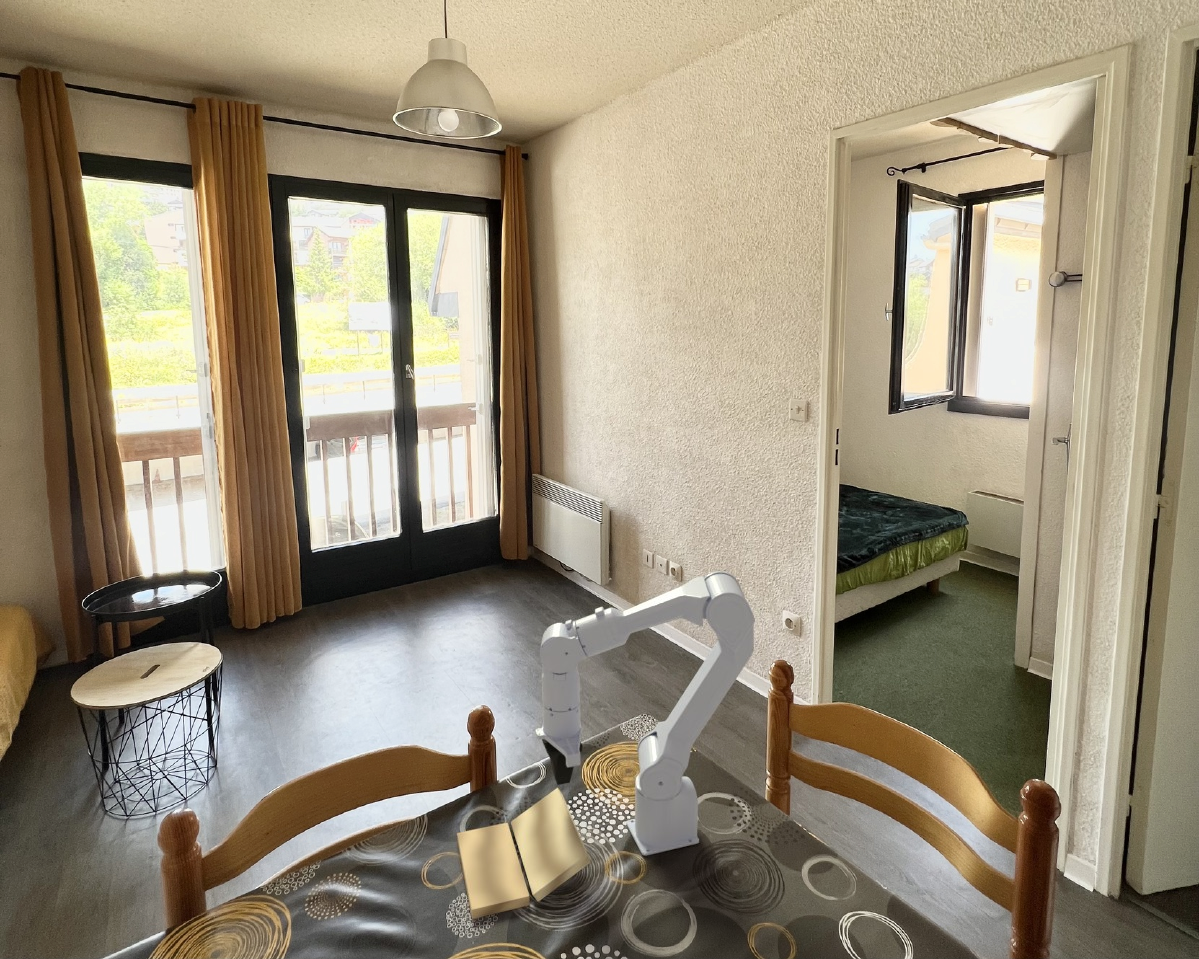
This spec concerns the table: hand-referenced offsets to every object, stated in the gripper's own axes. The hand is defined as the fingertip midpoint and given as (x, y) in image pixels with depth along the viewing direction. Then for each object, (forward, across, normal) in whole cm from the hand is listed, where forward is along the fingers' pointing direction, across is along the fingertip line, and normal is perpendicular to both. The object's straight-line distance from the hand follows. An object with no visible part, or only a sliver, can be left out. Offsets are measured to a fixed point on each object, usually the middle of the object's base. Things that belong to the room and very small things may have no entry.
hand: (562, 781), depth 117 cm
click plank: (+7, +5, -3) cm, 9 cm away
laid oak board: (+9, +5, -12) cm, 16 cm away
